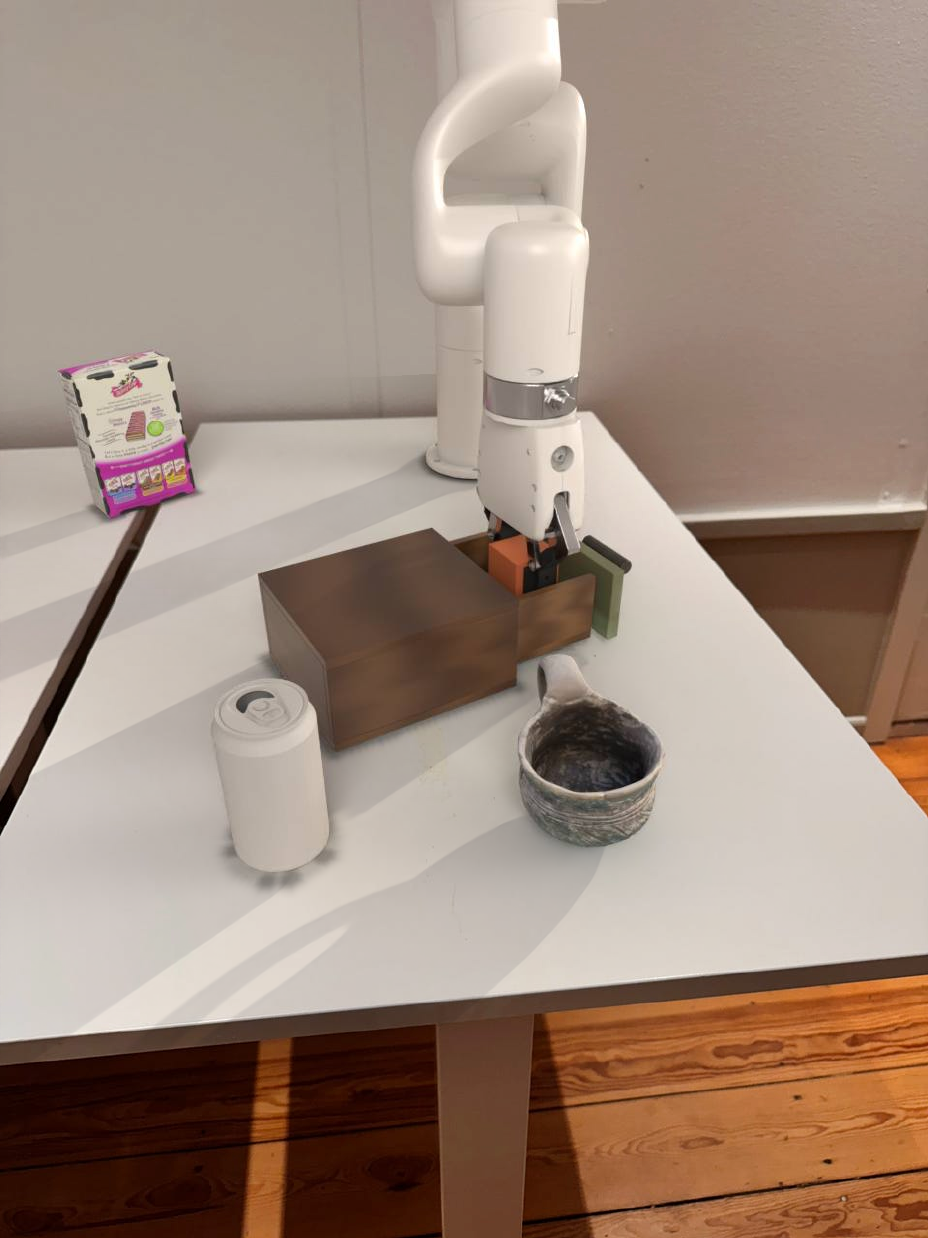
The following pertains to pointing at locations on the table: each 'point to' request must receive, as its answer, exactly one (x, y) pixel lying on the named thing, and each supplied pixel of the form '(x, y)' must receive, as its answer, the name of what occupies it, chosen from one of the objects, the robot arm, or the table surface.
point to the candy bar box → (129, 431)
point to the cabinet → (390, 633)
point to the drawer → (564, 596)
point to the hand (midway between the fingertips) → (522, 588)
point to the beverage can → (271, 773)
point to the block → (511, 562)
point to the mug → (586, 761)
